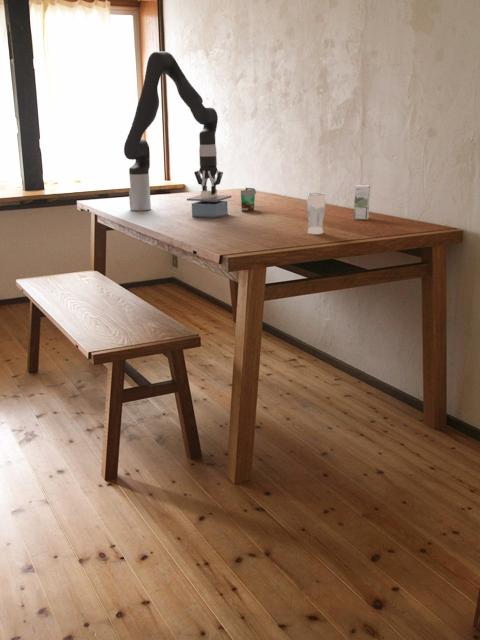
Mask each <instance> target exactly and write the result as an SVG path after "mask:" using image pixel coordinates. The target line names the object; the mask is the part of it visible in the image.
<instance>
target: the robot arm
mask: <svg viewBox="0 0 480 640" xmlns="http://www.w3.org/2000/svg"><path fill="white" fill-rule="evenodd" d="M162 75H167V76H168V77H169V78H170V79H171V80H172V82H173V83H174V84H175V87H176V90H177V93H178V95H179V97H180V98H181V100H182V101H183V102H184V104H185V105H186V106H187V107H188V108H189V110H190V113H191V115H192V116H193V118H194V120H195V121H196V122H197V123H198V124H199V125H203V127H202V128H203V129H202V130H201V131H200V132H199V134H198V135H199V136H198V137H199V138H198V139H199V167H200V168H199V169H198V170H197V171H194V176H195V178H196V181H197V183H198V185H201V190H202V191H205V190H208V186H207V185H208V180H209V181H210V185H211V187H210V189H211V191H212V195H214V194H215V193H216V189H217V186H218V185H220V184H221V181H222V179H223V178H222V177H223V175H224V172H223V171H220V170H218V167H217V166H218V164H217V163H218V162H217V160H218V159H217V153H218V152H217V147H216V144H217V143H216V131H217V128H218V122H219V121H218V120H219V119H218V118H219V117H218V112H217V111H216V109H215V108H213V107H205V106H204V104H203V101H204V100H203V98H202V96H201V95H200V93H199V92H197V90H196V89H195V88H194V86H192V84H191V83H190V81H189V80H188V78H187V77H186V76H185V74H184V72H183V71H182V69H181V67H180V66H179V64H178V62H177V60H176V59H175V57H174V56H173V54H171V53H170V52H169V51H154V52H152V53H151V54H150V55H149V57H148V59H147V62H146V68H145V75H144V80H143V85H142V88H141V93H140V96H139V99H138V102H137V107H136V110H135V114H134V116H133V117H134V118H133V120H132V124H131V126H130V127H131V128H130V129H129V132H128V134H127V137H126V139H125V142H124V147H123V154H124V156H125V158H126V159H127V160H131V161H132V160H134V161H135V163H134V164H133V165H132V166H131V167H129V169H128V171H129V172H128V173H129V185H130V186H129V188H130V189H128V198H129V209H130V211H138V212H139V211H140V212H141V211H149V210H151V209H152V207H151V206H152V203H151V189H150V188H151V187H150V176H149V175H150V172H149V170H150V165H151V163H150V162H151V160H150V157H151V153H150V146H149V143H148V141H147V140H146V139H143V135H144V133H145V132H146V131H147V129H148V128H149V127H150V126H151V125H152V123H153V122H154V121H155V119H156V118H157V117H156V116H157V114H158V110H159V106H160V98H159V92H158V91H159V90H158V86H159V82H160V78H161V76H162Z"/></svg>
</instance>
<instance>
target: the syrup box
mask: <svg viewBox="0 0 480 640" xmlns="http://www.w3.org/2000/svg"><path fill="white" fill-rule="evenodd" d="M370 193H371V185H370V184H363V183H362V184H361V183H360V184H359V183H358V184H355V185H354V202H353V203H354V205H353V207H354V209H353V220H357V221H358V220H359V221H367V220H368V219H370V215H369V214H370V197H371V194H370Z"/></svg>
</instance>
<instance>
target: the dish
mask: <svg viewBox="0 0 480 640" xmlns="http://www.w3.org/2000/svg"><path fill="white" fill-rule="evenodd" d="M228 211H229V210H228V201H227V200H221V201H218V202H210V201H195V202H192V203H191V217H192V218H201V219H202V218H203V219H206V218H207V219H218V218H221V217H223V216H227V215H228V214H229V213H228Z"/></svg>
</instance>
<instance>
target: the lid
mask: <svg viewBox="0 0 480 640" xmlns="http://www.w3.org/2000/svg"><path fill="white" fill-rule="evenodd" d="M231 198H232V195H224V194H223V195H222V194H218V189H217V188H216V193H215V194H214V195H212V191H211V188H210V189H207V190H205V191H200V194H198V195H196V196H191V197H188V198H186V201H191V202H192V201H193V202H199V201H210V202H218V201H225V200H228V199H231Z"/></svg>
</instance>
